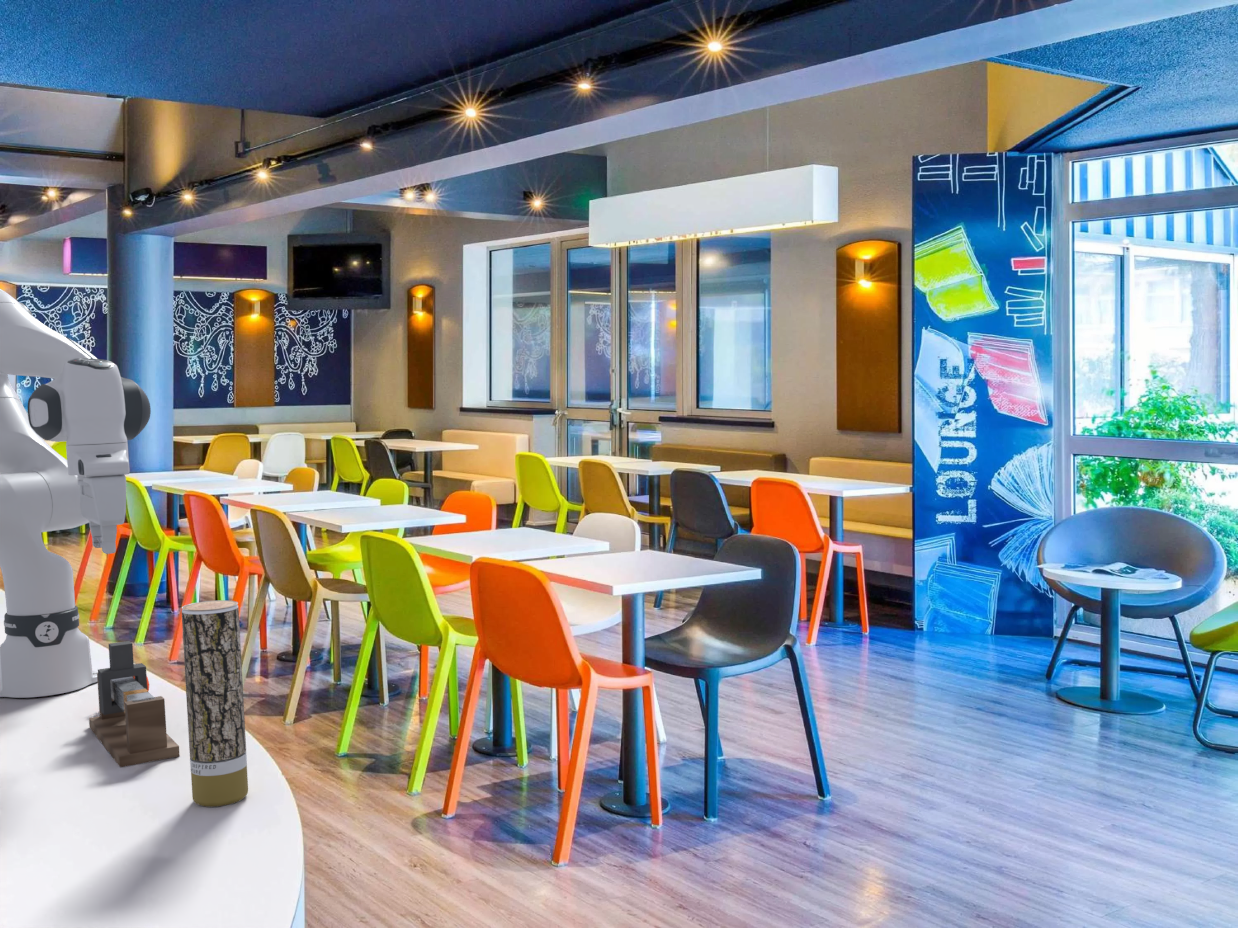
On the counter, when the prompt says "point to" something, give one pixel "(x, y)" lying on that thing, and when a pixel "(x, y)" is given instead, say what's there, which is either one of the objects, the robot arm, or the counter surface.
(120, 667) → the grey clamp
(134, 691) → the grey metal bar
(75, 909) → the counter surface
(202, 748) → the paper tube
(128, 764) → the base
